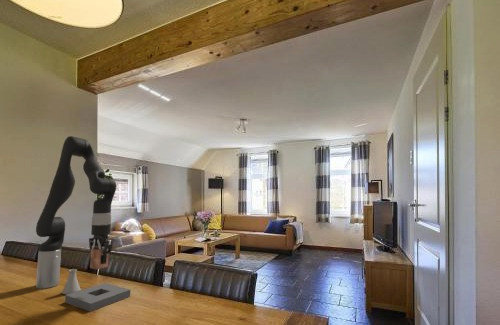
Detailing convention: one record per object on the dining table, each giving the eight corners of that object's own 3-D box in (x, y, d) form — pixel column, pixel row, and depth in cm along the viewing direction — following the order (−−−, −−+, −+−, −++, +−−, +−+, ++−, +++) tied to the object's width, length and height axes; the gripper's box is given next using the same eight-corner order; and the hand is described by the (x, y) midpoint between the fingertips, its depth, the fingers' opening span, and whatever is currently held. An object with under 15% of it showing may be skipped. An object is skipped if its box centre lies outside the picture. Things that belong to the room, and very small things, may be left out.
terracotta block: (90, 267, 121) (91, 248, 122) (101, 265, 125) (102, 246, 126) (96, 269, 119) (97, 250, 119) (107, 266, 123) (108, 248, 124)
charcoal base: (64, 302, 118) (65, 295, 118) (105, 289, 133) (105, 282, 134) (90, 311, 109) (90, 303, 109) (130, 296, 125) (130, 289, 125)
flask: (71, 295, 125) (73, 272, 126) (57, 294, 127) (59, 271, 128) (84, 290, 132) (85, 268, 133) (71, 289, 134) (72, 267, 135)
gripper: (83, 223, 124) (81, 262, 123) (103, 225, 117) (101, 267, 115) (99, 221, 131) (97, 259, 129) (119, 223, 124) (117, 263, 122)
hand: (99, 262), depth 122 cm, fingers closed on terracotta block, 5 cm apart
